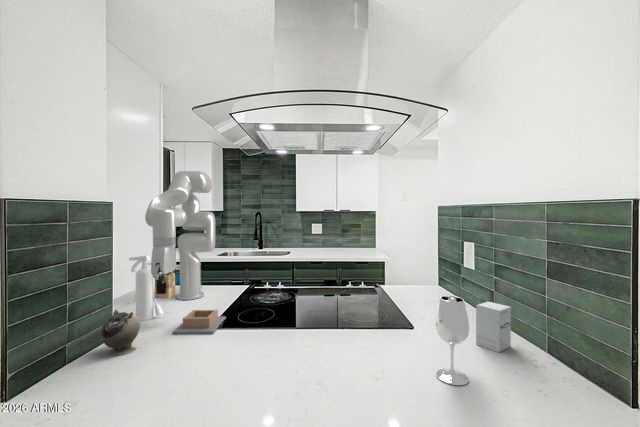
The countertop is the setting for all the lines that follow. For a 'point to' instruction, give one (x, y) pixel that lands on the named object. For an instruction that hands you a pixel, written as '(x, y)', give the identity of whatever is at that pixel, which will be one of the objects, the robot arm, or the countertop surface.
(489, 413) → the countertop surface
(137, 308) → the fire extinguisher
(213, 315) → the base board
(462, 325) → the wineglass
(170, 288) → the oak block
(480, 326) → the supplement box
